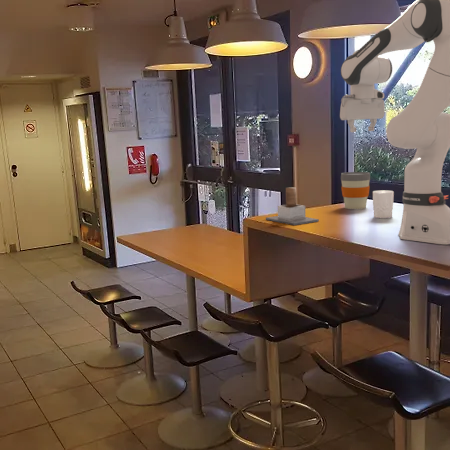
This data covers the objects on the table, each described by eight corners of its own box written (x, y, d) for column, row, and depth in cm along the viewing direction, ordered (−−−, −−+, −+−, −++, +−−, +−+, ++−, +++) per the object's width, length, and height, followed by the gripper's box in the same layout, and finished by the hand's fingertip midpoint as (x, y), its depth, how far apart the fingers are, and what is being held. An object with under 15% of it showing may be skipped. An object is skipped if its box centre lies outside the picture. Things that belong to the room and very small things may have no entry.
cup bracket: (318, 221, 213) (318, 206, 212) (294, 225, 207) (293, 210, 206) (289, 216, 228) (289, 202, 227) (265, 219, 222) (265, 205, 221)
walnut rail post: (298, 218, 217) (298, 187, 214) (290, 219, 215) (289, 188, 212) (292, 217, 220) (291, 187, 218) (284, 218, 218) (283, 188, 216)
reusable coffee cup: (342, 205, 251) (342, 172, 248) (371, 205, 247) (371, 171, 244) (339, 209, 239) (339, 174, 236) (369, 209, 235) (369, 174, 232)
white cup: (397, 217, 214) (398, 191, 213) (380, 219, 212) (380, 193, 210) (385, 214, 222) (385, 189, 220) (368, 216, 219) (368, 191, 217)
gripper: (348, 94, 202) (348, 132, 204) (387, 93, 212) (387, 130, 214) (335, 95, 207) (336, 132, 209) (375, 94, 217) (375, 130, 220)
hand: (362, 131), depth 212 cm, fingers open, 8 cm apart
